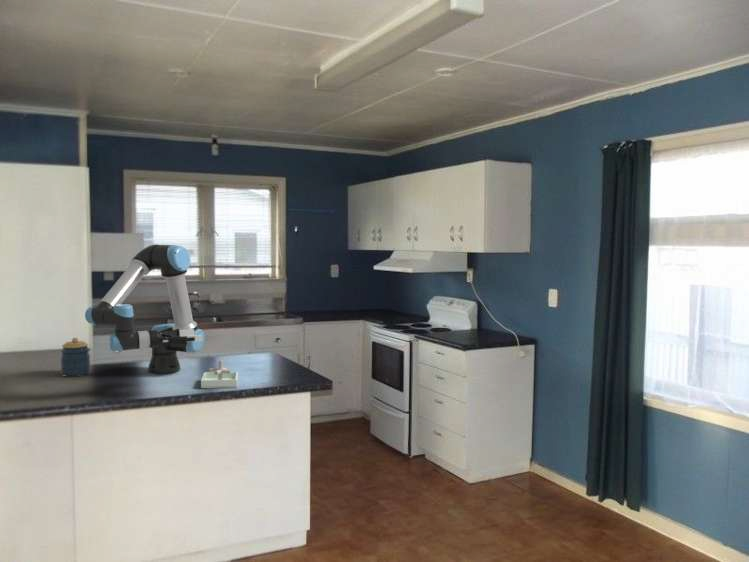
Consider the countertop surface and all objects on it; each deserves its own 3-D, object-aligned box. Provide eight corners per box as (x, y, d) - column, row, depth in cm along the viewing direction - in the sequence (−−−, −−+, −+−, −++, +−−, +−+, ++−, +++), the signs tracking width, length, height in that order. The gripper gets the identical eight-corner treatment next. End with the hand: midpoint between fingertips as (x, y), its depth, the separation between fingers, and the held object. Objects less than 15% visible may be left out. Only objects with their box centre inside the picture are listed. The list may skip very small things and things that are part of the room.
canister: (54, 375, 303) (53, 338, 302) (75, 370, 315) (75, 334, 314) (75, 378, 299) (75, 341, 297) (96, 372, 311) (96, 336, 309)
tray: (200, 388, 286) (200, 380, 286) (204, 380, 301) (204, 372, 301) (236, 388, 289) (236, 379, 288) (238, 379, 304) (238, 371, 304)
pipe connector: (225, 385, 289) (226, 363, 289) (205, 383, 291) (206, 361, 290) (234, 380, 299) (235, 359, 298) (214, 378, 301) (215, 357, 300)
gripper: (143, 342, 288) (191, 338, 299) (154, 353, 267) (205, 348, 277) (143, 325, 287) (190, 322, 298) (153, 336, 266) (205, 331, 276)
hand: (198, 335), depth 287 cm, fingers open, 13 cm apart
